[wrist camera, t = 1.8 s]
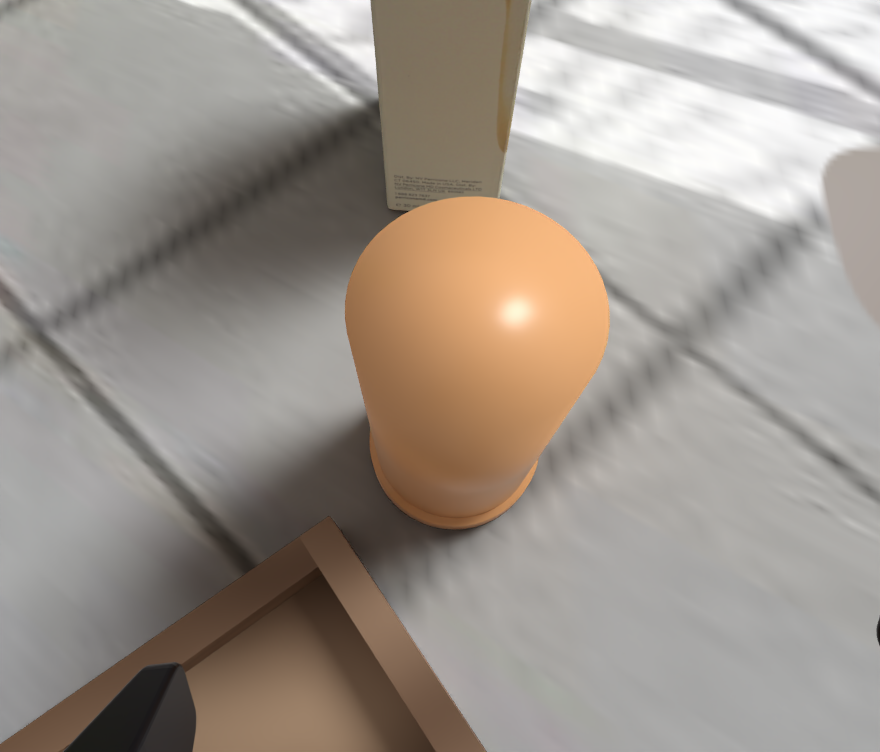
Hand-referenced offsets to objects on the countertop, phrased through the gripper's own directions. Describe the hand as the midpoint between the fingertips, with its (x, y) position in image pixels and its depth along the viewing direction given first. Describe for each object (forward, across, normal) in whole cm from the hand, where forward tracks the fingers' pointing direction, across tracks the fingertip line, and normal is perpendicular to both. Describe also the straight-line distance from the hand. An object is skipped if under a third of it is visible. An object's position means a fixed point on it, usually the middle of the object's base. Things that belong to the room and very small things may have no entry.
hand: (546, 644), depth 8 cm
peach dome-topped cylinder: (+13, 0, +4) cm, 13 cm away
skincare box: (+22, -1, -4) cm, 22 cm away
